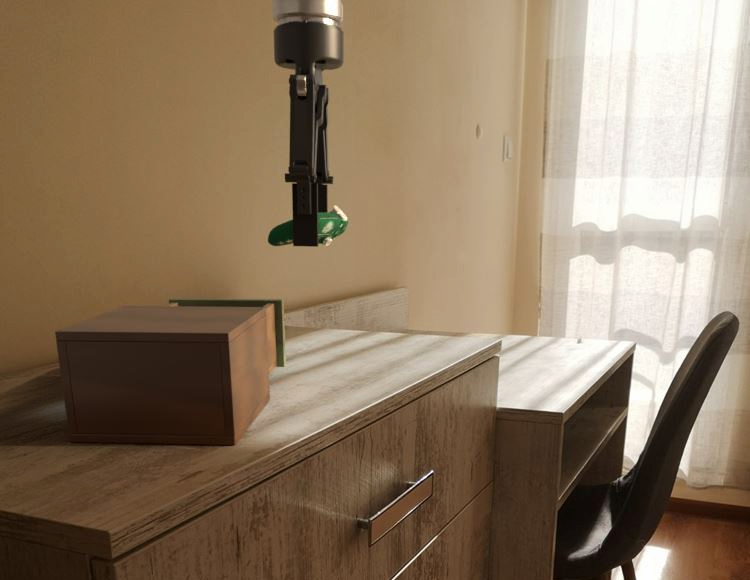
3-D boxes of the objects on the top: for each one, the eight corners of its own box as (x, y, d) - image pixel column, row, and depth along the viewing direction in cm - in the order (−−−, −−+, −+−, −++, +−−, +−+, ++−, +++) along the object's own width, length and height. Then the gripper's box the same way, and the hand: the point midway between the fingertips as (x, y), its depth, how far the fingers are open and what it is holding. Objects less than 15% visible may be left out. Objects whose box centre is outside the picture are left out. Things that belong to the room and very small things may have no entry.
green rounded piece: (280, 263, 93) (308, 225, 89) (262, 237, 94) (289, 198, 90) (331, 259, 100) (360, 224, 96) (314, 235, 101) (342, 199, 97)
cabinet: (133, 398, 87) (124, 305, 83) (270, 400, 86) (265, 307, 83) (69, 442, 71) (54, 331, 68) (235, 445, 70) (228, 333, 67)
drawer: (186, 357, 104) (181, 294, 101) (291, 358, 103) (289, 295, 100) (134, 392, 85) (126, 316, 83) (261, 394, 84) (258, 317, 82)
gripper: (333, 3, 77) (334, 250, 85) (351, 43, 98) (350, 239, 106) (254, 3, 78) (262, 249, 86) (289, 43, 99) (293, 238, 106)
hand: (311, 243), depth 96 cm, fingers closed on green rounded piece, 10 cm apart
